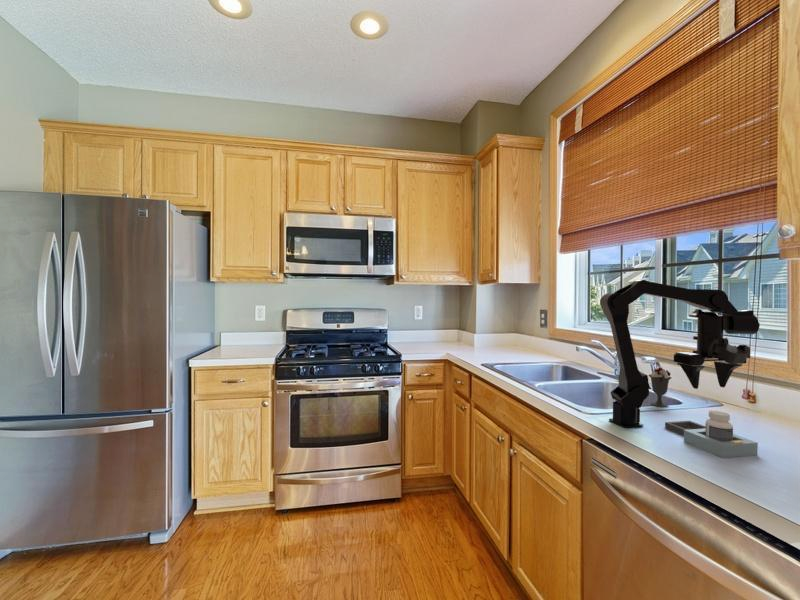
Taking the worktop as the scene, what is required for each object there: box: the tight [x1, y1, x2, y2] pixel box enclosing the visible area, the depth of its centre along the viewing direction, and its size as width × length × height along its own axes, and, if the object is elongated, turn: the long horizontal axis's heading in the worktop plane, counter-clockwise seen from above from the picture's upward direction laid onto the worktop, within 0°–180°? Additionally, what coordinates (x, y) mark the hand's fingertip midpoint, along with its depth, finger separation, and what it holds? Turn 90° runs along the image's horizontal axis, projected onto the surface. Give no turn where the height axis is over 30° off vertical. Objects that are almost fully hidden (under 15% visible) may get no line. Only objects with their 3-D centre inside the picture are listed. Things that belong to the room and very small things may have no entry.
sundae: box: [648, 362, 673, 408], centre depth 128 cm, size 7×7×15 cm
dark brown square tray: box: [664, 420, 706, 436], centre depth 103 cm, size 8×8×2 cm
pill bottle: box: [705, 410, 734, 442], centre depth 93 cm, size 5×5×9 cm
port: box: [683, 428, 759, 459], centre depth 93 cm, size 10×10×3 cm
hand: (709, 387), depth 105 cm, fingers open, 9 cm apart
